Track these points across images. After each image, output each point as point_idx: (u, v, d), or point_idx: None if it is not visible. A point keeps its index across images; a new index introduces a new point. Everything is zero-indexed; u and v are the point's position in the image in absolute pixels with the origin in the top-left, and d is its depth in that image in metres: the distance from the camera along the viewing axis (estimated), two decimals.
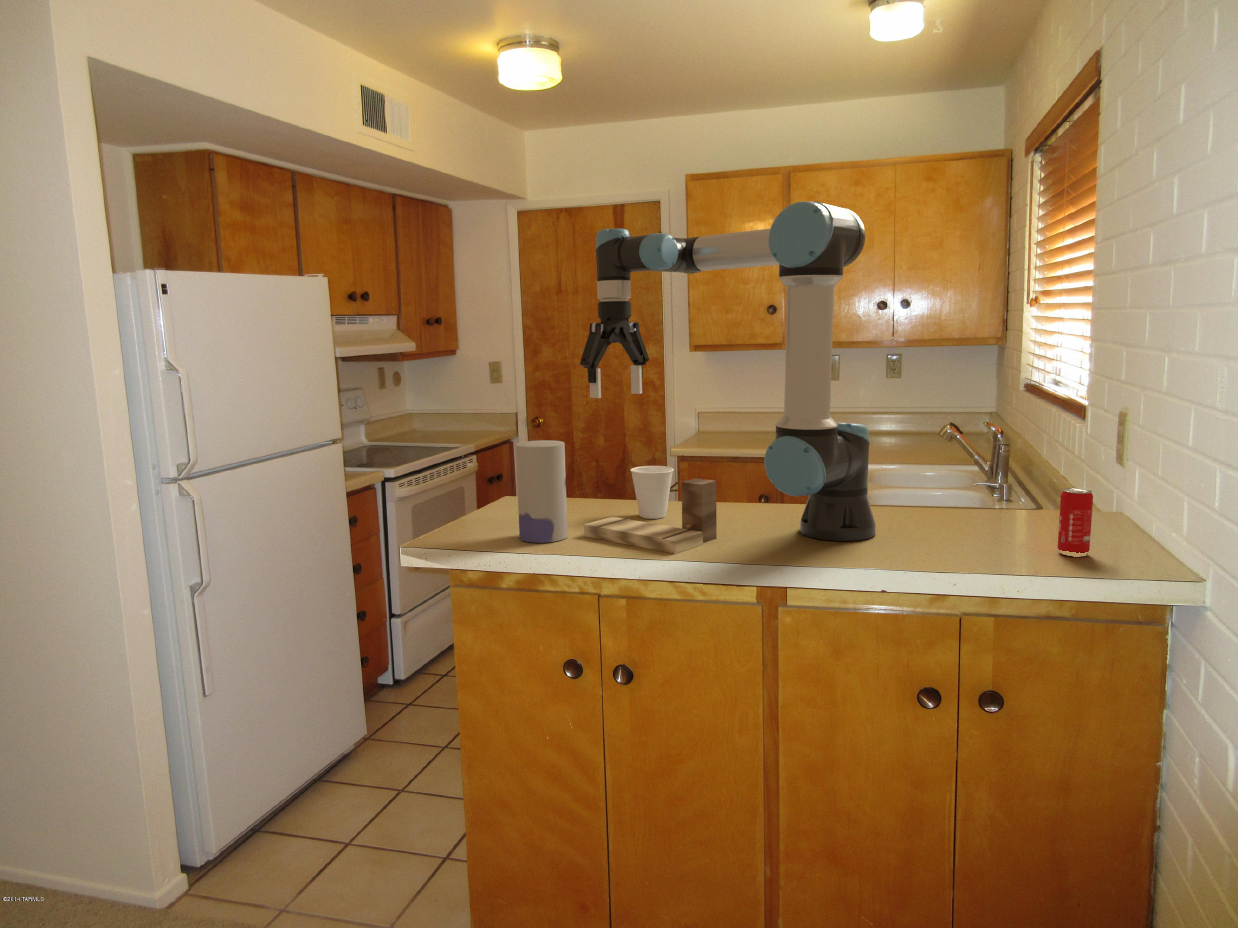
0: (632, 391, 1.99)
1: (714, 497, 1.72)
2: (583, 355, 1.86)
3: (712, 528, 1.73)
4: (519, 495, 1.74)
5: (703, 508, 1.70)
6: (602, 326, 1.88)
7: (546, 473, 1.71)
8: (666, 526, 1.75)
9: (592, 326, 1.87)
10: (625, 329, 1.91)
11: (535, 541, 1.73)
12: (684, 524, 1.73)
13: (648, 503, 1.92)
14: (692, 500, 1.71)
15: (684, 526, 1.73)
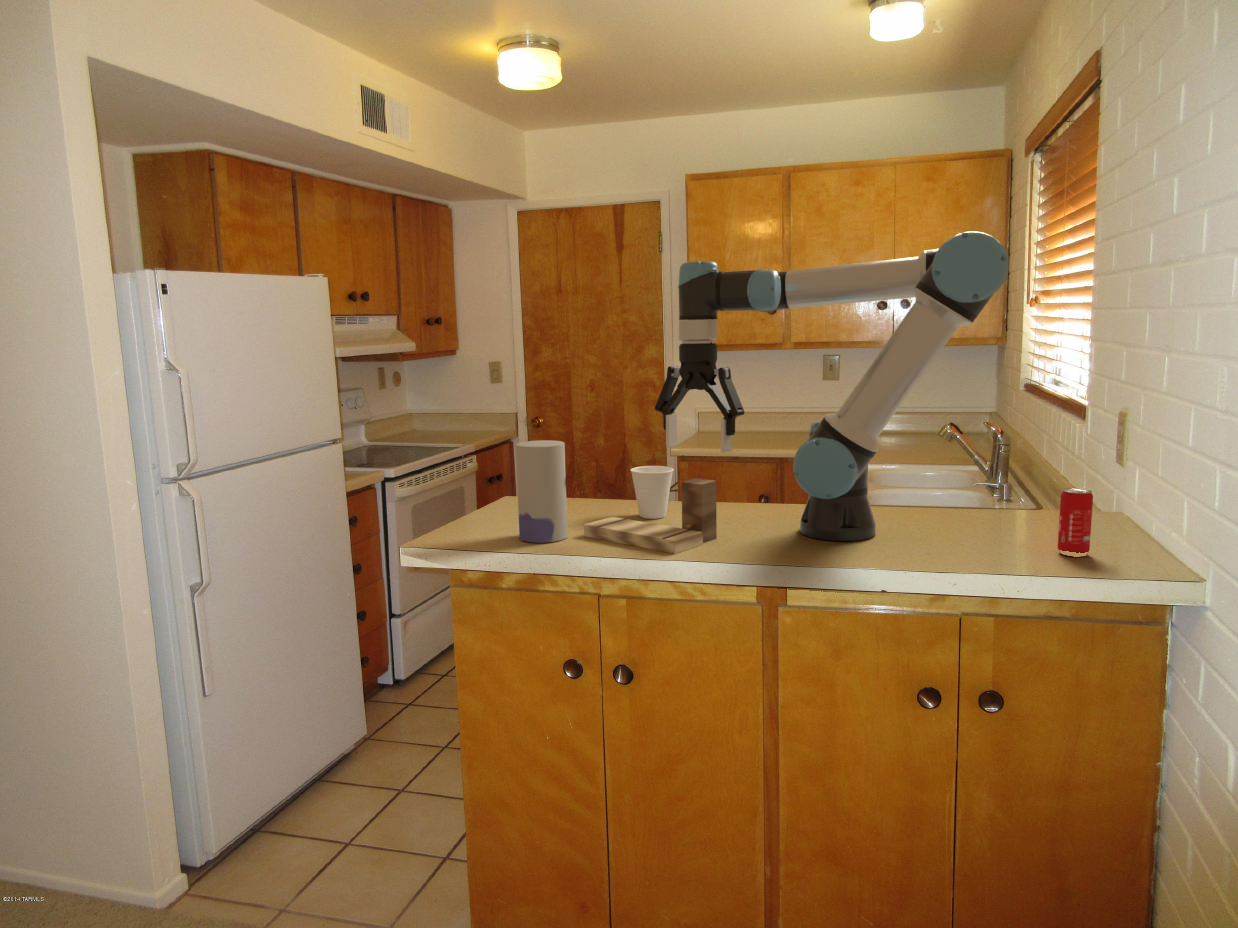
0: None
1: (714, 497, 1.72)
2: None
3: (712, 528, 1.73)
4: (519, 495, 1.74)
5: (703, 508, 1.70)
6: (678, 370, 1.71)
7: (546, 473, 1.71)
8: (666, 526, 1.75)
9: None
10: (698, 375, 1.67)
11: (535, 541, 1.73)
12: (684, 524, 1.73)
13: (648, 503, 1.92)
14: (692, 500, 1.71)
15: (684, 526, 1.73)
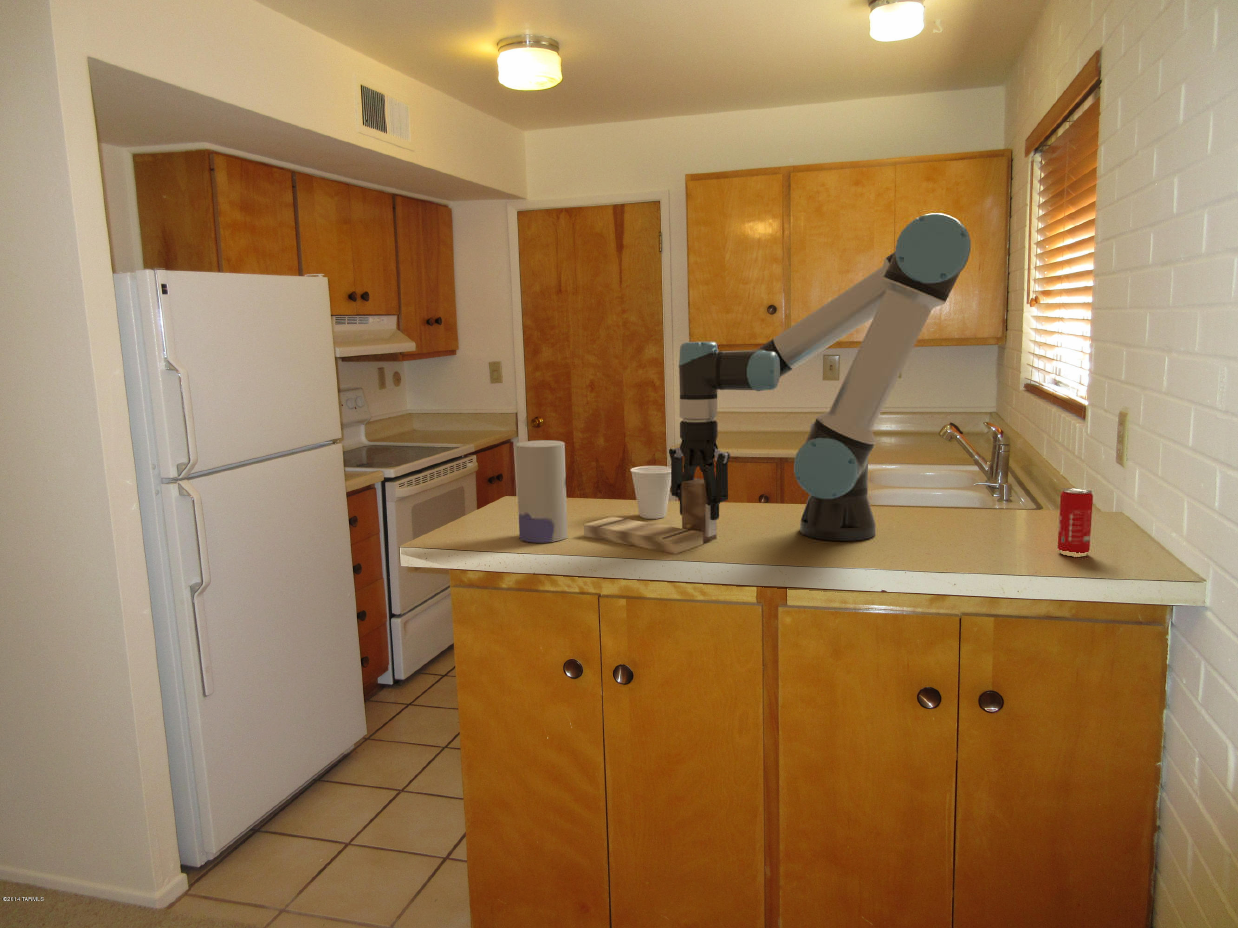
0: None
1: None
2: None
3: None
4: (519, 495, 1.74)
5: (703, 508, 1.70)
6: (679, 449, 1.74)
7: (546, 473, 1.71)
8: (666, 526, 1.75)
9: None
10: (698, 453, 1.69)
11: (535, 541, 1.73)
12: (684, 524, 1.73)
13: (648, 503, 1.92)
14: (692, 500, 1.71)
15: (684, 526, 1.73)
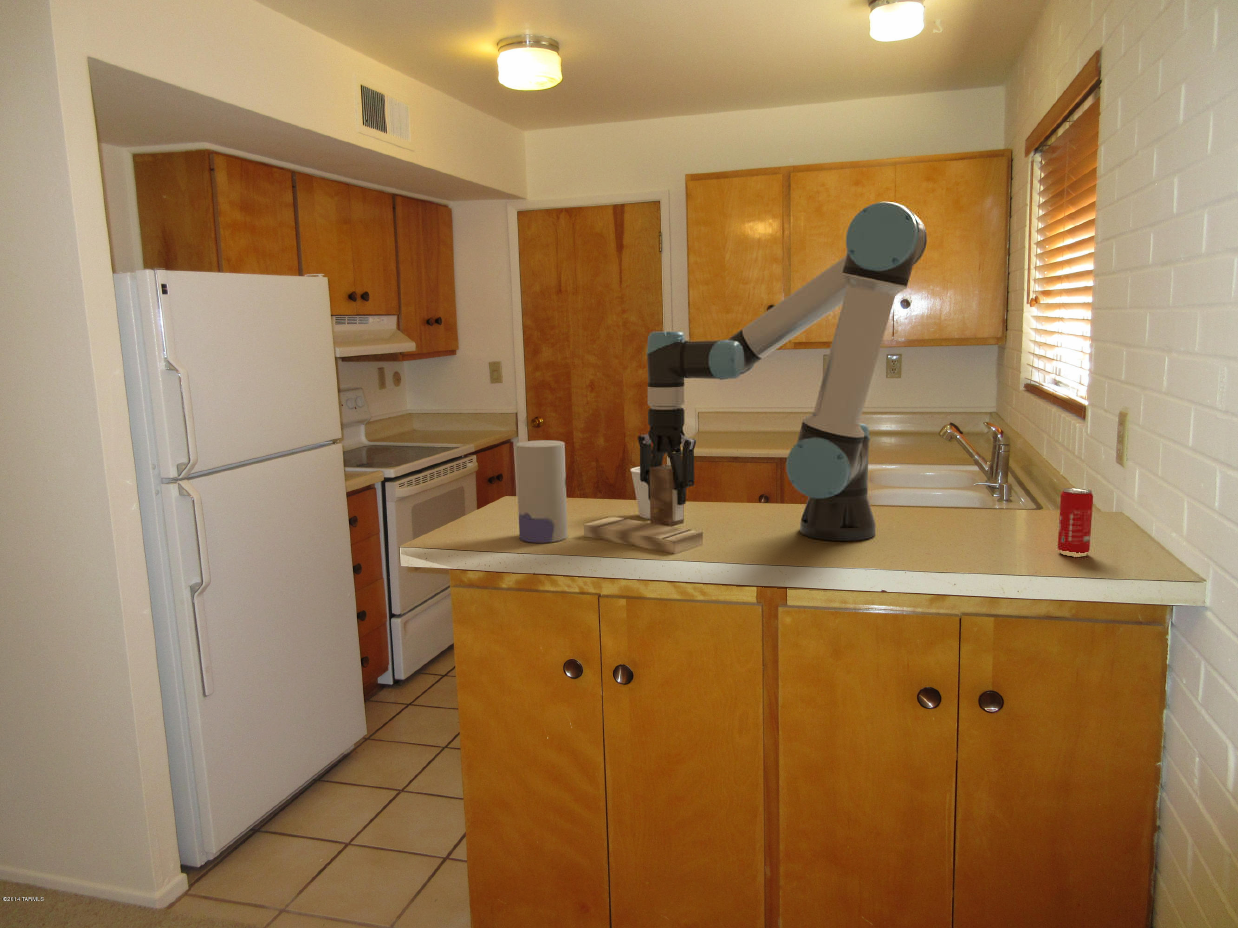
0: None
1: None
2: None
3: None
4: (519, 495, 1.74)
5: (670, 493, 1.75)
6: (648, 436, 1.78)
7: (546, 473, 1.71)
8: (666, 526, 1.75)
9: None
10: (665, 439, 1.74)
11: (535, 541, 1.73)
12: (652, 509, 1.78)
13: (648, 503, 1.92)
14: (659, 486, 1.76)
15: (652, 511, 1.78)
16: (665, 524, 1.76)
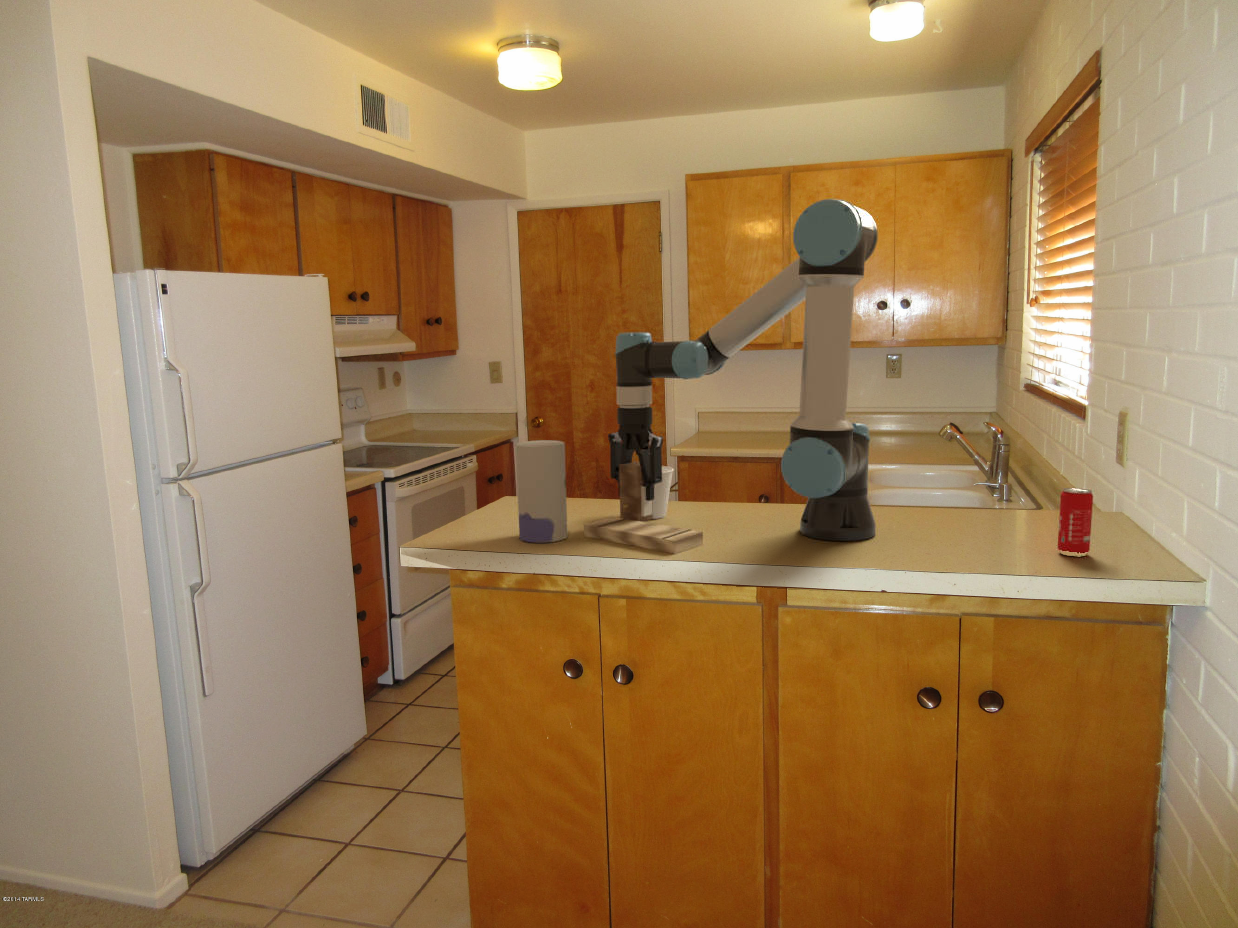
0: None
1: None
2: None
3: None
4: (519, 495, 1.74)
5: (639, 489, 1.80)
6: (618, 434, 1.84)
7: (546, 473, 1.71)
8: (666, 526, 1.75)
9: None
10: (634, 437, 1.79)
11: (535, 541, 1.73)
12: (622, 504, 1.83)
13: None
14: (628, 482, 1.81)
15: (622, 506, 1.83)
16: (634, 519, 1.81)
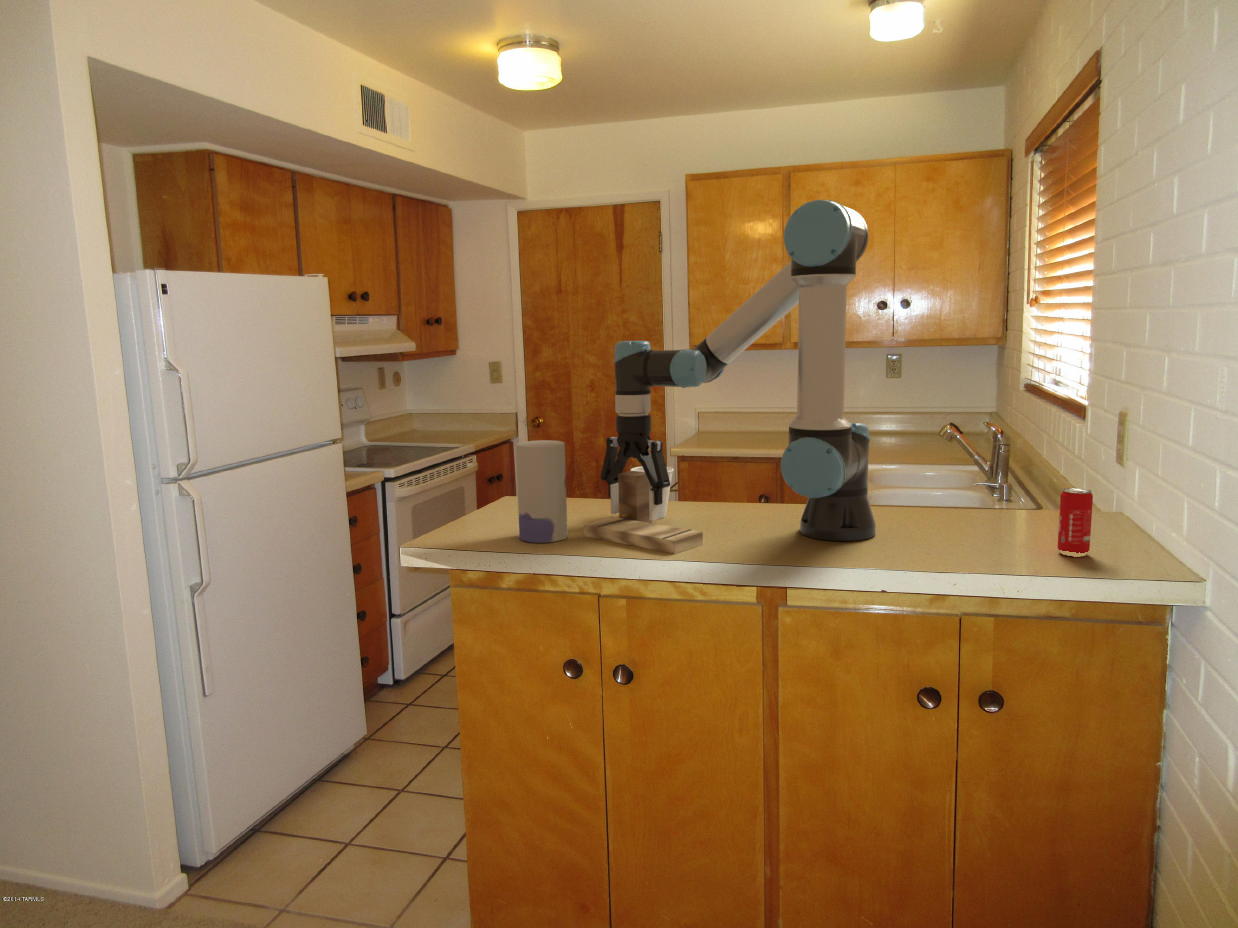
0: None
1: (649, 488, 1.83)
2: None
3: (647, 517, 1.84)
4: (519, 495, 1.74)
5: (637, 498, 1.81)
6: (616, 440, 1.84)
7: (546, 473, 1.71)
8: (666, 526, 1.75)
9: None
10: (633, 445, 1.80)
11: (535, 541, 1.73)
12: (621, 514, 1.84)
13: None
14: (627, 491, 1.82)
15: (621, 515, 1.84)
16: None
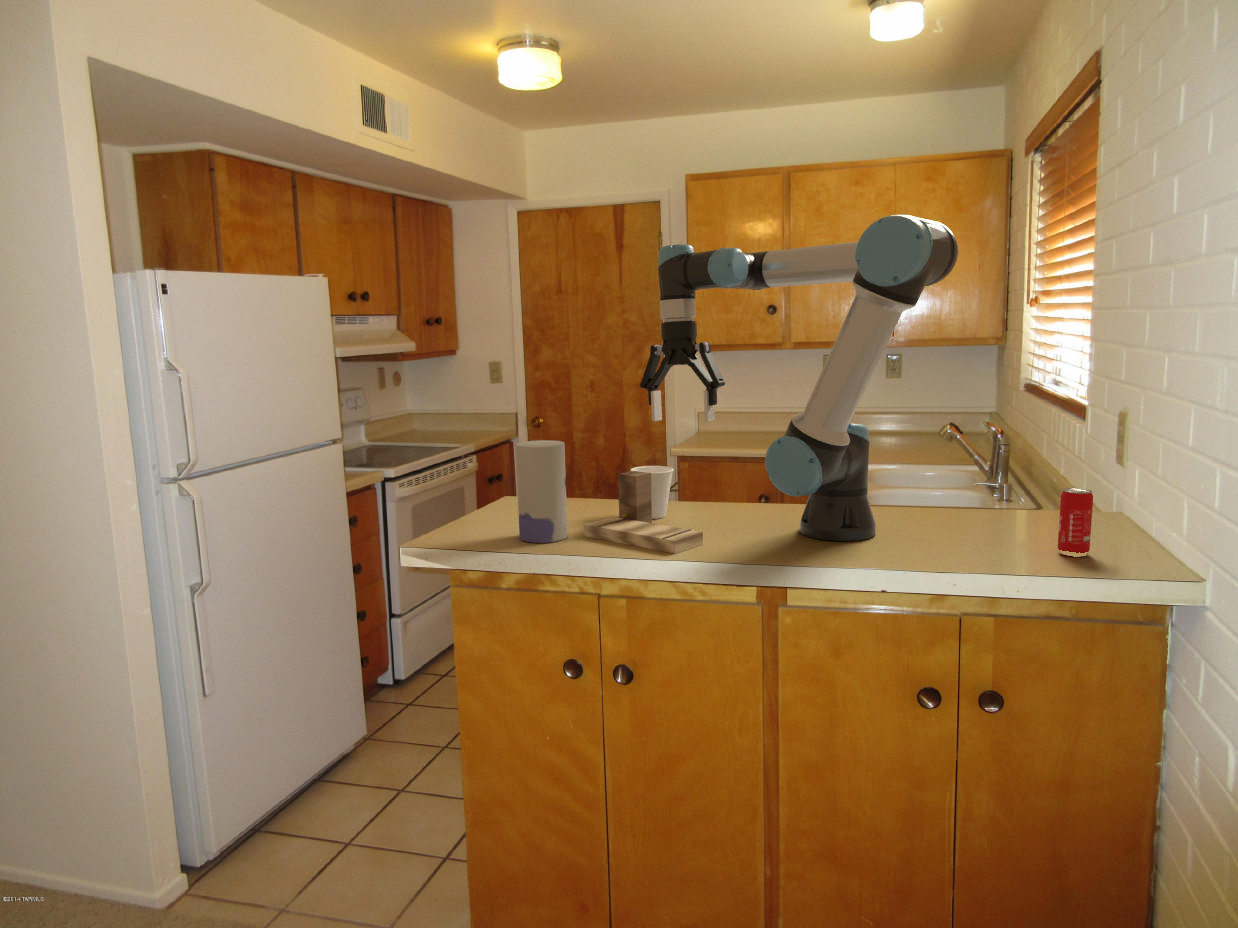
0: None
1: (649, 488, 1.83)
2: None
3: (647, 517, 1.84)
4: (519, 495, 1.74)
5: (637, 498, 1.81)
6: (661, 348, 1.83)
7: (546, 473, 1.71)
8: (666, 526, 1.75)
9: None
10: (680, 351, 1.78)
11: (535, 541, 1.73)
12: (621, 514, 1.84)
13: None
14: (627, 491, 1.82)
15: (621, 515, 1.84)
16: None
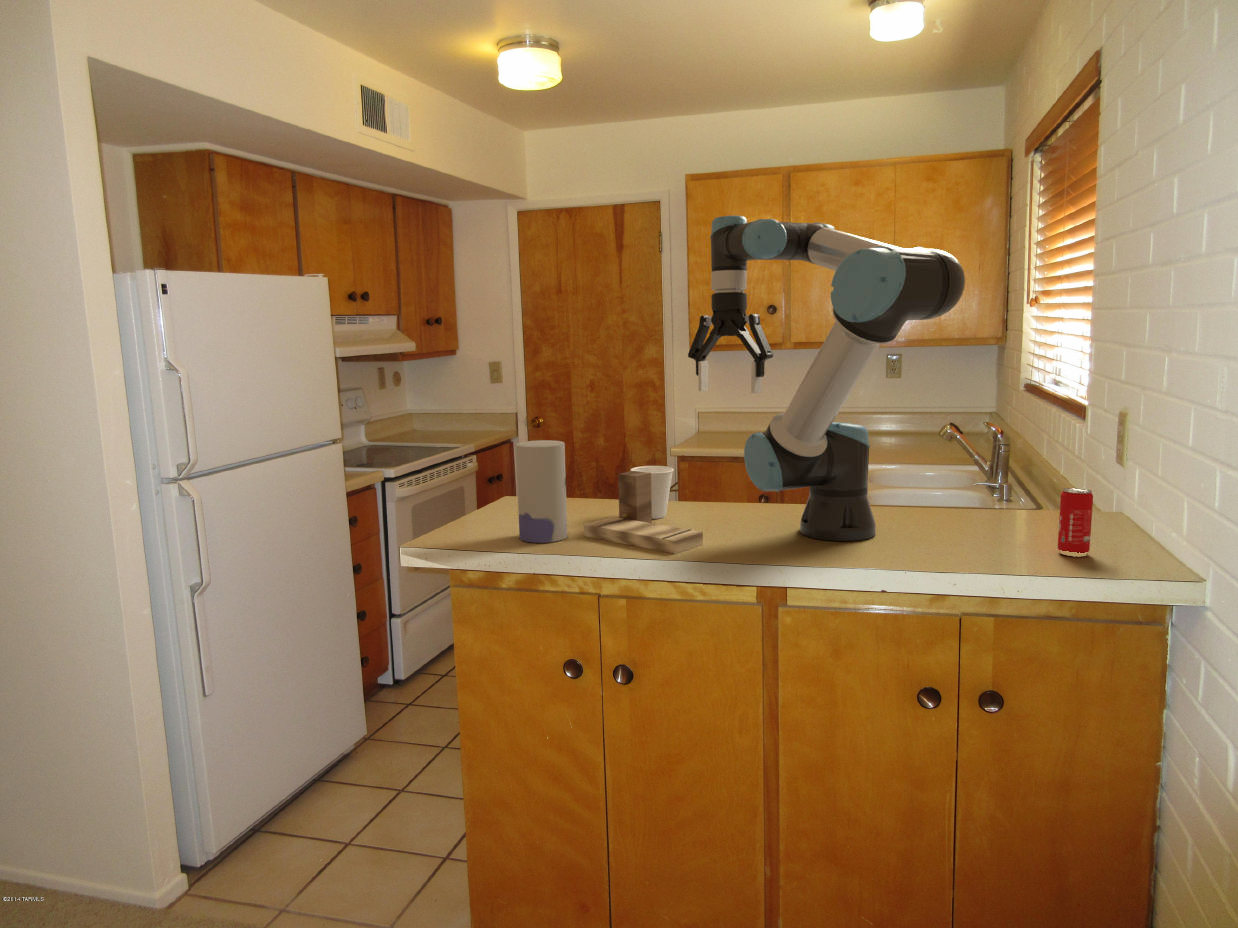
0: None
1: (649, 488, 1.83)
2: None
3: (647, 517, 1.84)
4: (519, 495, 1.74)
5: (637, 498, 1.81)
6: (710, 319, 1.85)
7: (546, 473, 1.71)
8: (666, 526, 1.75)
9: None
10: (729, 322, 1.80)
11: (535, 541, 1.73)
12: (621, 514, 1.84)
13: None
14: (627, 491, 1.82)
15: (621, 515, 1.84)
16: None
